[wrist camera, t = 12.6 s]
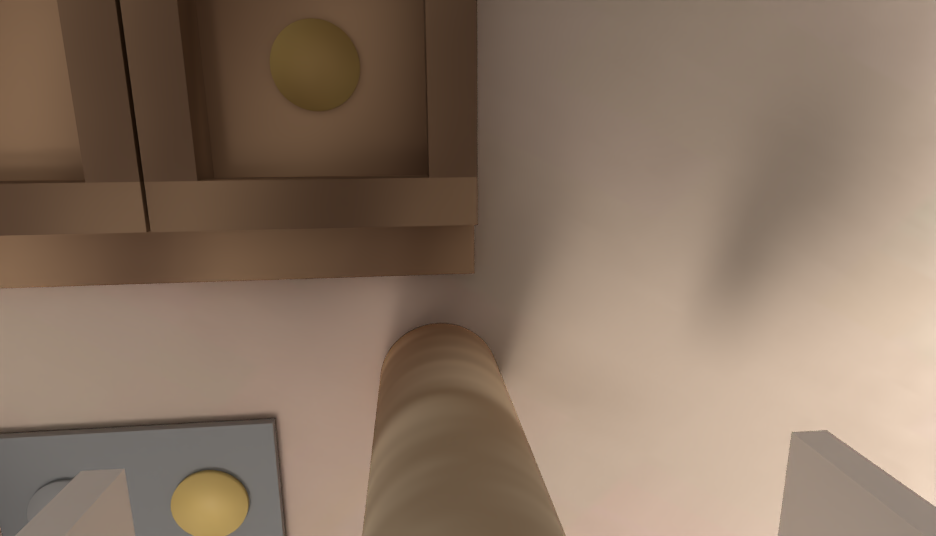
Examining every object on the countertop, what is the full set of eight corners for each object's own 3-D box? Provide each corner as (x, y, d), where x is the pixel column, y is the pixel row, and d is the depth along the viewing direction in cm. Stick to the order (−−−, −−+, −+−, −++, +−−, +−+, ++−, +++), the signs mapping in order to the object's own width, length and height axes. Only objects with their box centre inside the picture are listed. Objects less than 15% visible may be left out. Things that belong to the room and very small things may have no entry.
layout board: (-126, 285, 15) (-206, 306, 13) (-245, -193, 12) (-366, -255, 11) (471, 267, 17) (479, 284, 15) (468, -160, 14) (478, -208, 12)
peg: (382, 435, 17) (351, 805, 8) (377, 325, 17) (337, 583, 7) (497, 429, 18) (605, 774, 8) (497, 321, 17) (618, 559, 7)
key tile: (20, 582, 17) (9, 594, 17) (-12, 434, 16) (-25, 443, 16) (287, 560, 18) (284, 572, 18) (274, 418, 17) (270, 426, 16)
